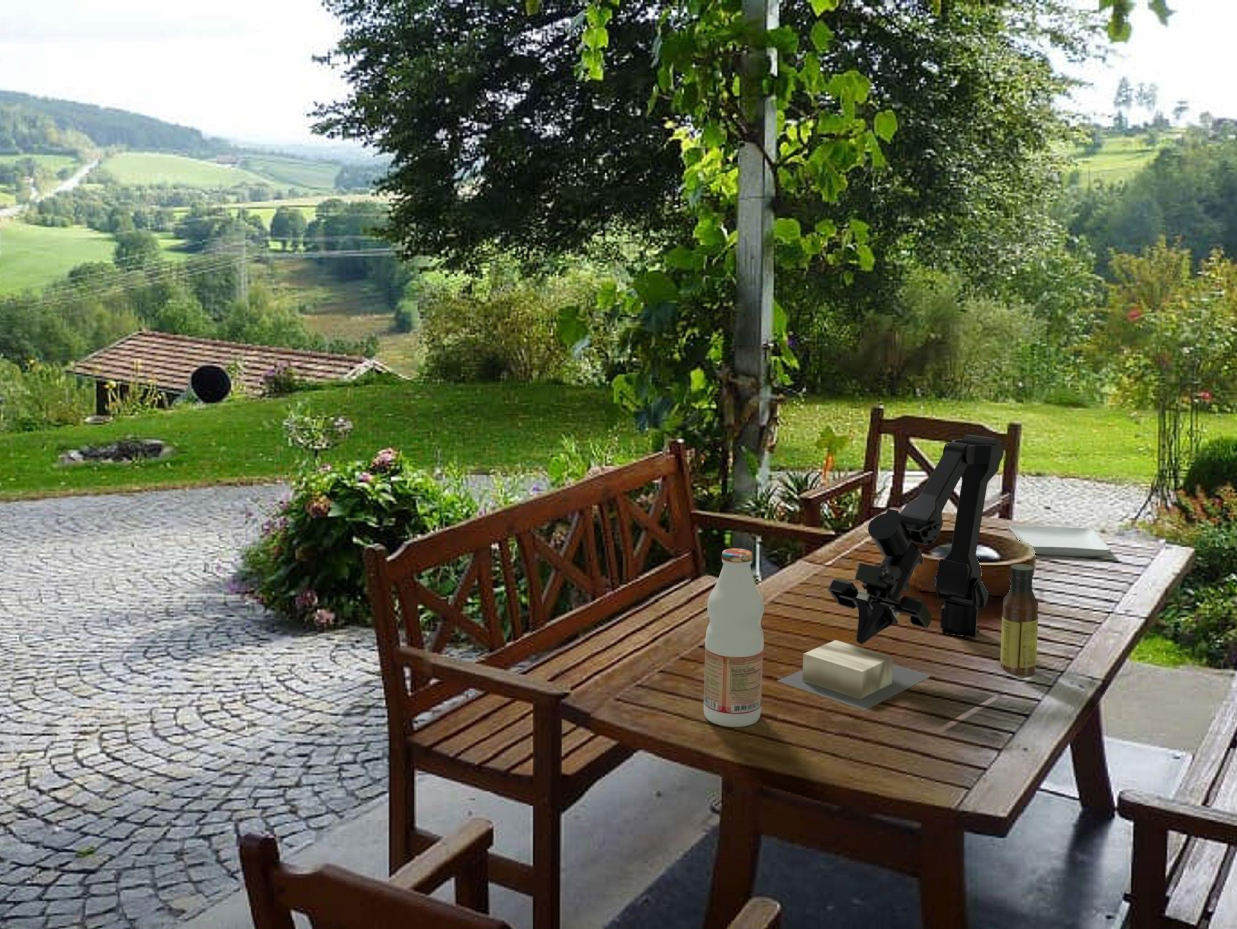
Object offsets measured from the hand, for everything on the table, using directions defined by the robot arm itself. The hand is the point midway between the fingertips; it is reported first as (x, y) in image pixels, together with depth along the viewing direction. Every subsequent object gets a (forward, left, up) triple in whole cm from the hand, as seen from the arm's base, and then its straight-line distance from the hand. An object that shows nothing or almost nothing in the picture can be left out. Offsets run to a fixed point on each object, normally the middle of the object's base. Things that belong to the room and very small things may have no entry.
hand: (859, 642), depth 207 cm
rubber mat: (0, +1, -7) cm, 7 cm away
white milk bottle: (+17, +23, -7) cm, 30 cm away
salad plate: (-36, -110, -8) cm, 116 cm away
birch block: (-1, -2, -4) cm, 4 cm away
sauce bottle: (-27, -15, -7) cm, 32 cm away
